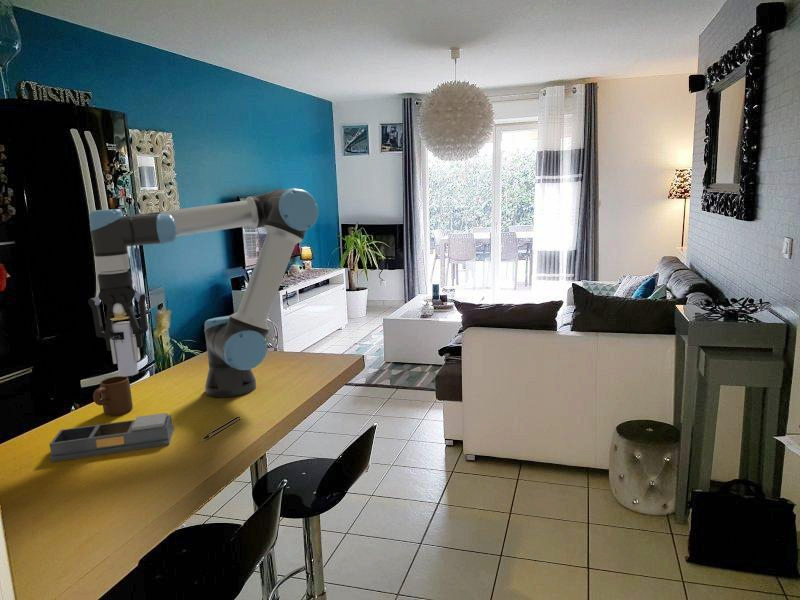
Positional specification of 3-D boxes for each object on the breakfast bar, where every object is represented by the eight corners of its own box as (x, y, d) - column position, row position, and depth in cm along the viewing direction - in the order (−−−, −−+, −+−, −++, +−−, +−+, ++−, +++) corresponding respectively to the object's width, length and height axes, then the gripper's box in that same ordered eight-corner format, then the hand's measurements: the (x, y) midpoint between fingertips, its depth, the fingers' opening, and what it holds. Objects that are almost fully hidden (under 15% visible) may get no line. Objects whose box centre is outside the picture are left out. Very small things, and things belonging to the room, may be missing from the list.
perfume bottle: (128, 372, 154) (117, 298, 150) (146, 373, 153) (135, 298, 149) (112, 379, 149) (100, 303, 145) (130, 380, 147) (118, 303, 143)
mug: (110, 423, 157) (105, 390, 155) (86, 422, 159) (81, 389, 157) (138, 407, 169) (134, 376, 167) (116, 406, 170) (111, 375, 169)
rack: (173, 429, 151) (171, 410, 150) (169, 444, 142) (166, 424, 141) (63, 444, 145) (60, 425, 144) (50, 462, 135) (47, 441, 134)
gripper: (153, 266, 151) (165, 353, 156) (79, 272, 147) (93, 361, 151) (149, 270, 144) (161, 360, 149) (71, 276, 140) (86, 369, 144)
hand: (127, 360), depth 150 cm, fingers closed on perfume bottle, 4 cm apart
